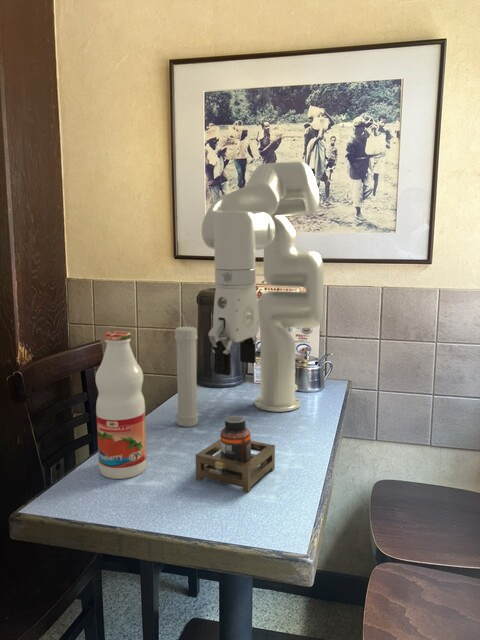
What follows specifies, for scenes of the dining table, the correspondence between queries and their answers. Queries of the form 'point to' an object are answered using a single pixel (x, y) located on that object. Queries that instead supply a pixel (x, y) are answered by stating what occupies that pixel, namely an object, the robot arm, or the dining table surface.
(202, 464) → the collar stand
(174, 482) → the dining table surface
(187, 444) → the dining table surface
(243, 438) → the supplement bottle
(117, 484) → the dining table surface
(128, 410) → the fruit juice
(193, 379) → the pipe
